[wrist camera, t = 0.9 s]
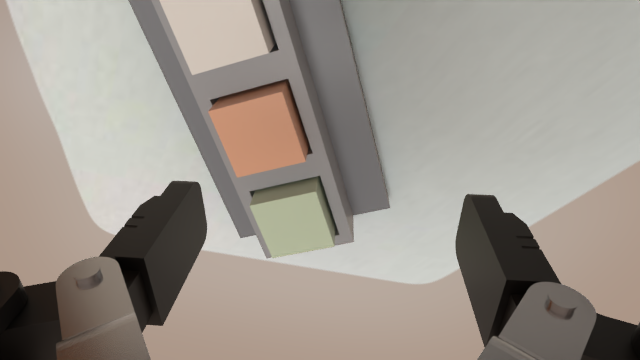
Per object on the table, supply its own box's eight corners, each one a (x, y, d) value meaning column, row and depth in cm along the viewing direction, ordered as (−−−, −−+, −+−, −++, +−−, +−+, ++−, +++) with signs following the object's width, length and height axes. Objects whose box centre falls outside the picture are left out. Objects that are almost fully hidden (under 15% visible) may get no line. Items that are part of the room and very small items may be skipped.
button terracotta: (287, 78, 30) (281, 91, 27) (309, 144, 33) (305, 161, 30) (219, 97, 31) (208, 111, 29) (245, 159, 34) (237, 177, 31)
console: (319, -86, 29) (313, -92, 24) (388, 196, 40) (394, 234, 35) (132, -21, 32) (89, -14, 27) (244, 226, 43) (230, 265, 38)
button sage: (318, 172, 34) (315, 191, 31) (335, 224, 36) (334, 246, 34) (256, 186, 35) (249, 205, 32) (277, 236, 37) (272, 258, 35)
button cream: (248, -42, 26) (237, -40, 24) (275, 43, 29) (268, 53, 26) (172, -16, 27) (154, -12, 25) (205, 63, 30) (192, 75, 27)
